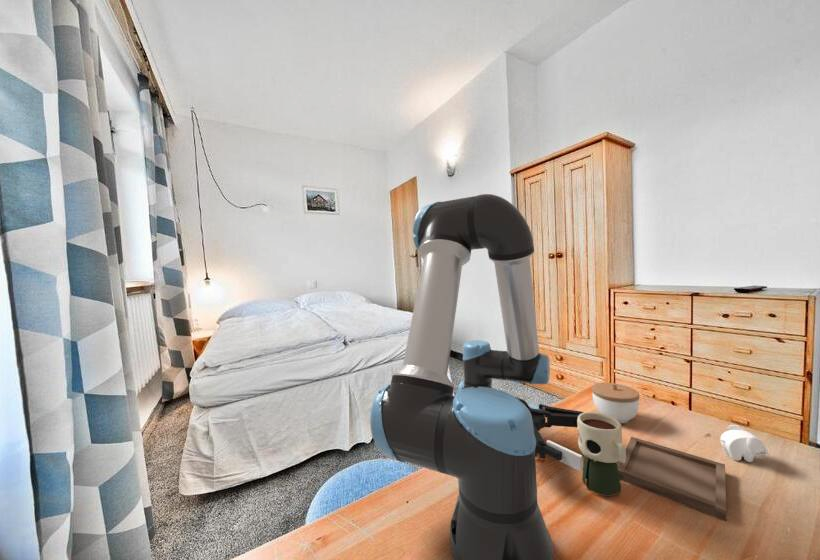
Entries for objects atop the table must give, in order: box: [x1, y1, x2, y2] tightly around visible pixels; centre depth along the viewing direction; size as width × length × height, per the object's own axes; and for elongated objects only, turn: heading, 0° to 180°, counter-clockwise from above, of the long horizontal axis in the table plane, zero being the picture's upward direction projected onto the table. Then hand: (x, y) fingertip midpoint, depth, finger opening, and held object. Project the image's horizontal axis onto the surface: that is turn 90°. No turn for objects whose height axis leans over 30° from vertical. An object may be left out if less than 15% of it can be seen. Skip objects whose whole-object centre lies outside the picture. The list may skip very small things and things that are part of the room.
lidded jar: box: [591, 382, 640, 424], centre depth 81 cm, size 11×11×9 cm
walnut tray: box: [617, 436, 727, 522], centre depth 59 cm, size 15×15×2 cm
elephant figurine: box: [716, 424, 769, 463], centre depth 63 cm, size 7×8×6 cm
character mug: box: [576, 411, 626, 497], centre depth 57 cm, size 11×7×13 cm, turn 11°
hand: (599, 449), depth 58 cm, fingers open, 13 cm apart
